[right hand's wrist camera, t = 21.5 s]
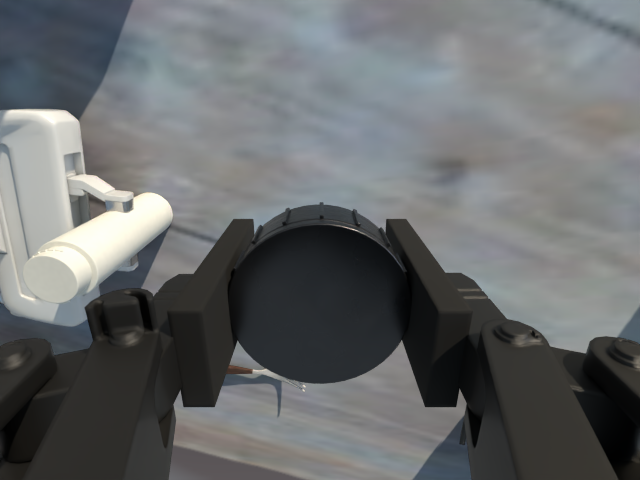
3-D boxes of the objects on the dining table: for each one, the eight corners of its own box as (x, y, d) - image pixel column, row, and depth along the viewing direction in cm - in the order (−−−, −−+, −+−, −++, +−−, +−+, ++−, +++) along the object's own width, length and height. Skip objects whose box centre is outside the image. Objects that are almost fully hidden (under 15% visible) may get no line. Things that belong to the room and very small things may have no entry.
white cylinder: (123, 199, 39) (2, 259, 24) (162, 187, 38) (62, 242, 23) (142, 236, 40) (39, 315, 25) (179, 225, 40) (96, 299, 25)
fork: (181, 354, 46) (175, 365, 44) (307, 365, 46) (306, 376, 44) (182, 370, 47) (176, 382, 45) (305, 381, 47) (304, 393, 45)
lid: (406, 334, 13) (420, 371, 11) (260, 355, 13) (250, 395, 11) (390, 189, 11) (404, 206, 9) (220, 218, 11) (202, 240, 9)
